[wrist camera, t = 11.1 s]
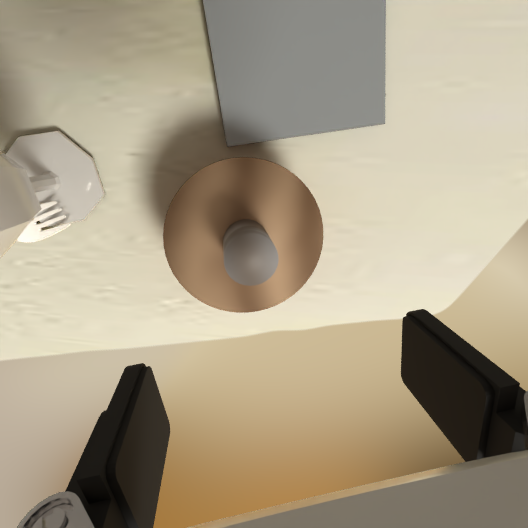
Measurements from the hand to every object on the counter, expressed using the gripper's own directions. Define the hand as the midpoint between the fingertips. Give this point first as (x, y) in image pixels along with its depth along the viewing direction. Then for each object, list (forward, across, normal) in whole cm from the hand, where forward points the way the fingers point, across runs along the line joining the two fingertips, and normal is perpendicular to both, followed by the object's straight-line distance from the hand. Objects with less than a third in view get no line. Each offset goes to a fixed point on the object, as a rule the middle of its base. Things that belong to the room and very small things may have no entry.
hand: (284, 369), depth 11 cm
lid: (+18, 0, 0) cm, 18 cm away
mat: (+24, -8, -16) cm, 30 cm away
